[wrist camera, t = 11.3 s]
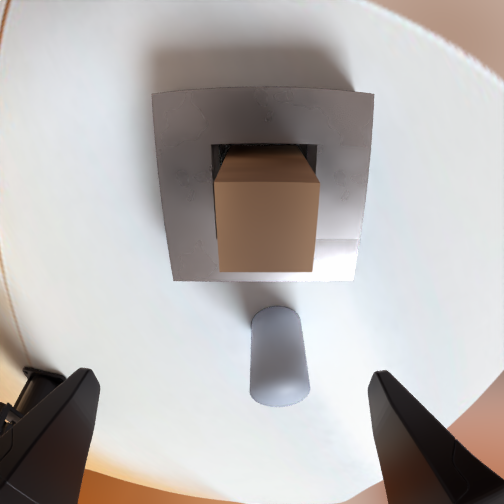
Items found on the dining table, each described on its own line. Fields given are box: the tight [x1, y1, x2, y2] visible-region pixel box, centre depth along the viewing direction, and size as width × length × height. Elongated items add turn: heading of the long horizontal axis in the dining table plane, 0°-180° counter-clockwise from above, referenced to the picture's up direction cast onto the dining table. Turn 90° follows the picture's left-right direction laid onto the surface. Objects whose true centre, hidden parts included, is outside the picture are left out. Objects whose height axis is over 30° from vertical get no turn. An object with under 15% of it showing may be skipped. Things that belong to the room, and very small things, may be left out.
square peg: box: [214, 145, 320, 272], centre depth 15 cm, size 4×4×7 cm
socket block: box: [152, 87, 374, 282], centre depth 16 cm, size 10×10×3 cm
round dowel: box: [250, 306, 310, 407], centre depth 20 cm, size 4×4×6 cm
